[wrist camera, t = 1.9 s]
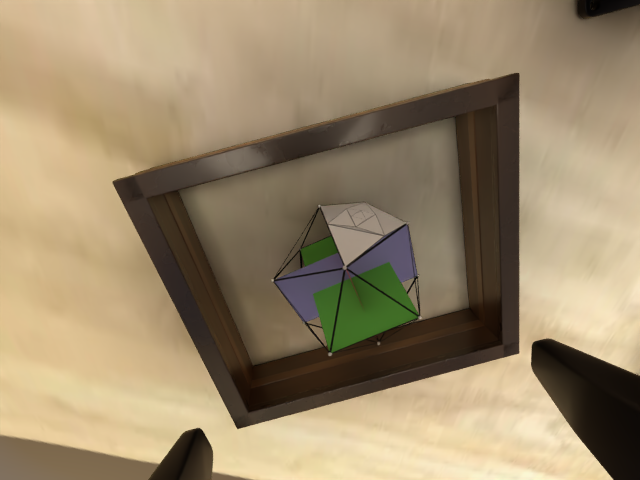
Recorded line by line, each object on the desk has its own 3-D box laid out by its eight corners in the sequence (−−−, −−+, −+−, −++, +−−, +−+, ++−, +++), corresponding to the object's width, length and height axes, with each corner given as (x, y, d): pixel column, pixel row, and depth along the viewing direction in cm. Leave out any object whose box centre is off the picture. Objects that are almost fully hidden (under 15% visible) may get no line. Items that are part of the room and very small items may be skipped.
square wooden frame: (469, 80, 16) (520, 72, 13) (482, 315, 22) (519, 353, 18) (148, 166, 16) (111, 181, 13) (244, 379, 22) (237, 429, 18)
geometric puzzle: (432, 318, 19) (476, 324, 11) (325, 362, 19) (295, 397, 12) (381, 212, 21) (388, 152, 13) (284, 253, 21) (235, 220, 13)
